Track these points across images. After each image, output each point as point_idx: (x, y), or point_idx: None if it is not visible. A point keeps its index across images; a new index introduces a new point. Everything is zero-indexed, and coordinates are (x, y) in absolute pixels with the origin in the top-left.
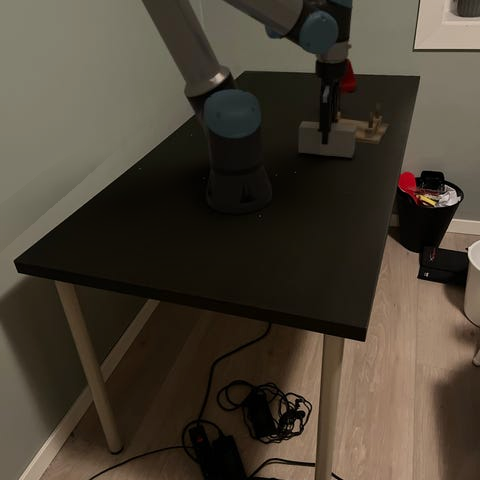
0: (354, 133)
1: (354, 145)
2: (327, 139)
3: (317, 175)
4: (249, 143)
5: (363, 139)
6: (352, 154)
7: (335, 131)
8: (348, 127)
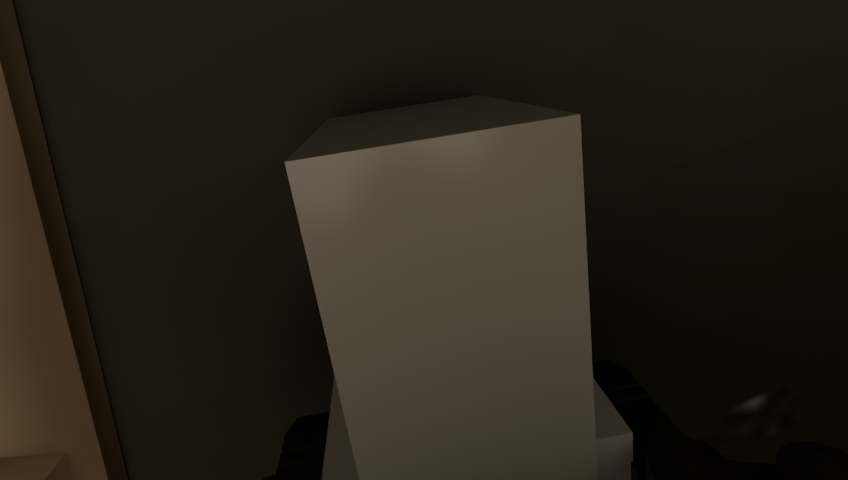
0: (533, 116)
1: (358, 120)
2: (641, 396)
3: (777, 259)
4: None
5: (16, 108)
6: (466, 98)
7: (583, 390)
8: (421, 269)
